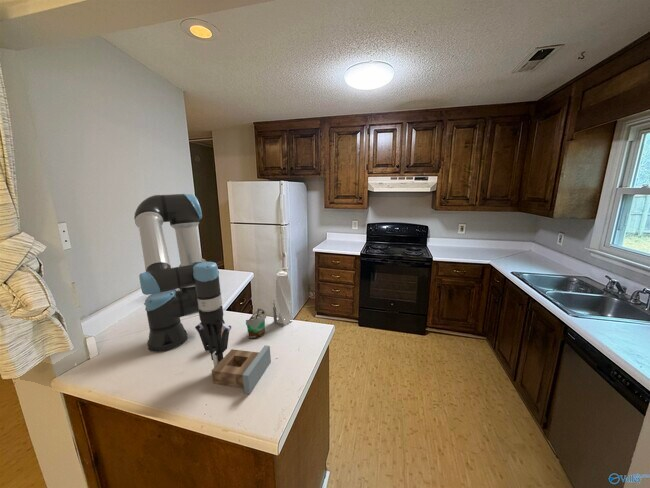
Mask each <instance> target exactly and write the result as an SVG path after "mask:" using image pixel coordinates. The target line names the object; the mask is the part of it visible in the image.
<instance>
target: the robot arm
mask: <svg viewBox="0 0 650 488" xmlns="http://www.w3.org/2000/svg"><path fill="white" fill-rule="evenodd" d="M133 219H134V224H135V226H136V227H137V228H138V230H139V236H140V243H141V249H142V250H141V251H142V257H143V261H144V267H145V268H144V269H145V271H144V272H142V273H140V274H139V276H138V277H139V284H140V289H141V293H142V294H143V295H144V296H145V295H146V296H147V297H146V299H145V300H144V304H145V312H146V316H147V323H148V327H149V333H148V340H147V341H146V342H147V350H148V351H150V352H153V353H162V352H163V353H164V352H167V351H171V350H173V349H176V348H178V347H179V346H182V345H183V344H184V343H185V342H186V341H187V339H188V333H187V332H188V331H187V330H186V329H185V327H184V325H183V324H182V322H181V318H183V317H185V316H190V315H193V314H197V313H198V317H199V320H200V322H199V323H198V324H197V325H195V330H196V332H197V333H198V335H199V338H200V340H201V343H202V346H203V348H204V351H205V352H209V353H210V358H211V361H213V362H212V363H213V368H214V367H215V366H216V365H217V364H218V363H219V362H220V361H221V360H222V359H223V358H224V353H225V352H226V350H227V349H228V346H229V338H230V331H231V329H232V325H227V324H225V323H226V322H225V320H224V309H223V298H222V291H221V285H220V283H221V282H220V276H219V275H220V272H219V269H218V264H217V263H216V262H214V261H207V262H202V260H201V258H202V255H201V249H200V248H201V247H200V242H199V236H198V231H197V227H198V226H199V224H200V220H202V219H203V213H202V208H201V205H200V203H199V200H198V198H197V196H196V195H195V194H191V193H176V194H155V195H151V196H148V197H147V198H145V199H144V200H142V201H141V203H139V204H138V205H137V208H136V209H135V212H134V218H133ZM167 222H169V226H170V227H171V228H173V229H174V231H175V237H176V243H177V249H178V251H177V252H178V254H179V255H178V256H179V261H180V262H179V263H180V264H181V267H179V266H176V267H171V262H170V257H169V252H168V248H167V244H166V240H165V235H164V231H163V225H164V223H167ZM179 288H181V290H180V289H179ZM222 328H223V330H222ZM221 332H223V333H222V337H221Z"/></svg>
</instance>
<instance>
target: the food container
mask: <svg viewBox="0 0 650 488" xmlns="http://www.w3.org/2000/svg"><path fill="white" fill-rule="evenodd" d="M266 319H267V314H266V312H265V310H264V309H261V308H257V310H256V312H254V313H253V314H252V315H251V316H250V317H249V319H246V320H245V326H246V329H247V335H248V339H249V340H257V339H260V338H262V337H264V335H265V333H266Z"/></svg>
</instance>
